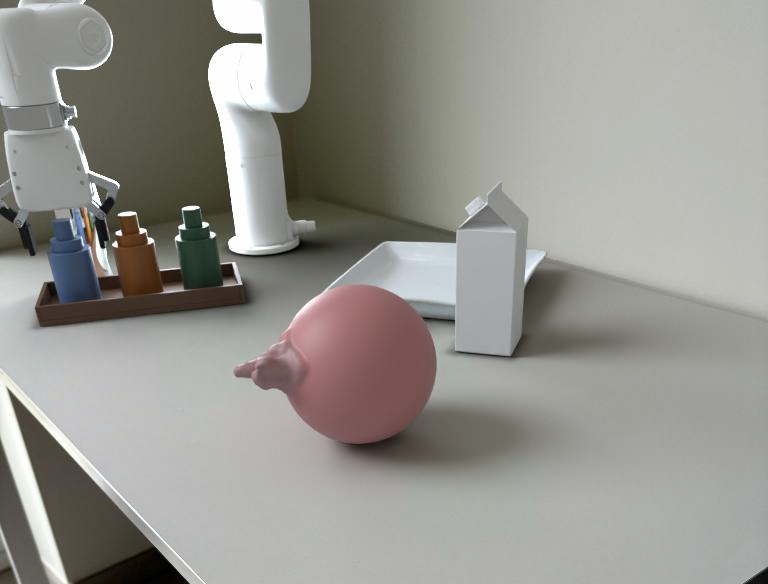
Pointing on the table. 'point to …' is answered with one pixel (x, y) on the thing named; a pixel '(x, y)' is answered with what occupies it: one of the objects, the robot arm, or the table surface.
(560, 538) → the table surface
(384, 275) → the square plate
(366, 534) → the table surface
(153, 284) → the amber bottle
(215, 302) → the tray
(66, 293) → the blue bottle
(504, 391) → the table surface
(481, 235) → the milk carton
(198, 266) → the green bottle
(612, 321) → the table surface
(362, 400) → the balloon
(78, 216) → the beer glass
